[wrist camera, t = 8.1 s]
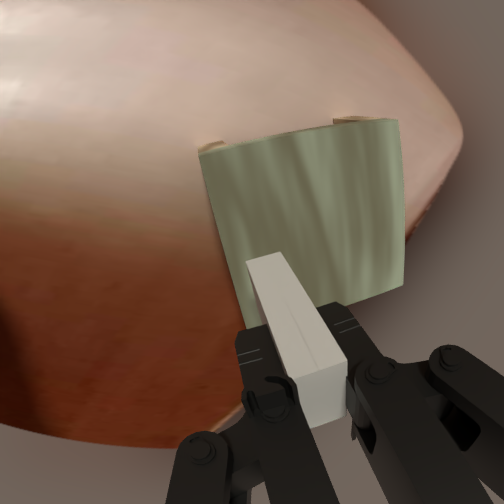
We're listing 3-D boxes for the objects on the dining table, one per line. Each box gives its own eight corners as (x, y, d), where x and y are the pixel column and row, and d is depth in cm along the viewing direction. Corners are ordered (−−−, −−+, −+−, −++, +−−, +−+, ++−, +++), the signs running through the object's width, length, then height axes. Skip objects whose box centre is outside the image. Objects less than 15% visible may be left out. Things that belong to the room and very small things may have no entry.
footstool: (248, 336, 19) (402, 284, 19) (198, 156, 14) (398, 119, 15) (236, 290, 24) (366, 252, 24) (197, 146, 19) (352, 116, 20)
